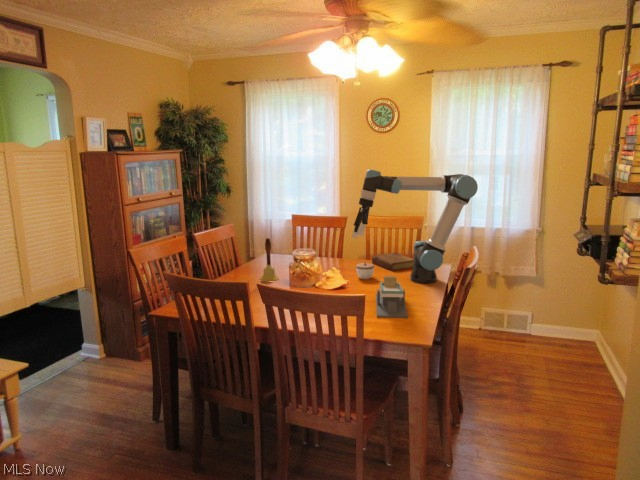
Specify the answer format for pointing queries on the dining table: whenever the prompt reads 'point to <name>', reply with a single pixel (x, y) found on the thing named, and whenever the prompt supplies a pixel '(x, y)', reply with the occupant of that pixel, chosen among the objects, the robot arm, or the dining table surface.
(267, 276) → the handbell
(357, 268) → the lidded jar
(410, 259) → the diary
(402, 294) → the seesaw beam
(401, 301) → the seesaw stand
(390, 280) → the beige square block
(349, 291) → the dining table surface
